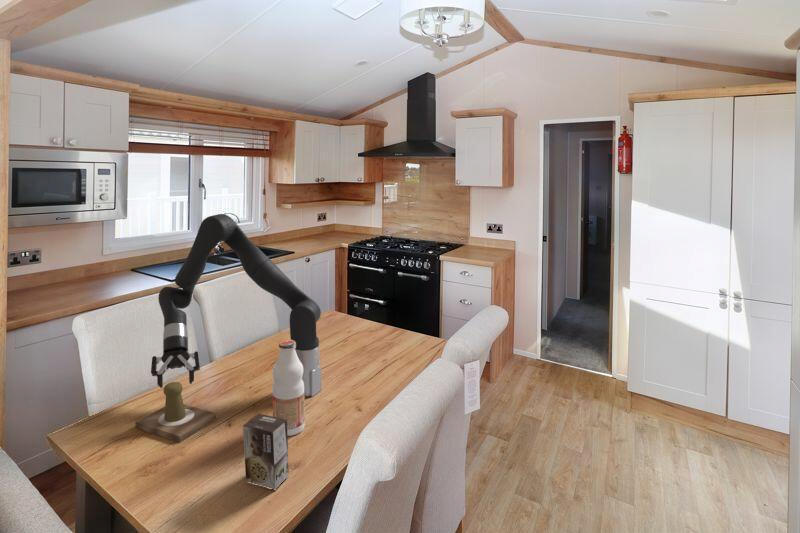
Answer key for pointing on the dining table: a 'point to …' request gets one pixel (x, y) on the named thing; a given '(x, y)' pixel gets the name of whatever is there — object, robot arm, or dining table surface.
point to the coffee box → (266, 450)
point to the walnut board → (176, 423)
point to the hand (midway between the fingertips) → (176, 385)
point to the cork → (174, 402)
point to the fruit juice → (289, 388)
